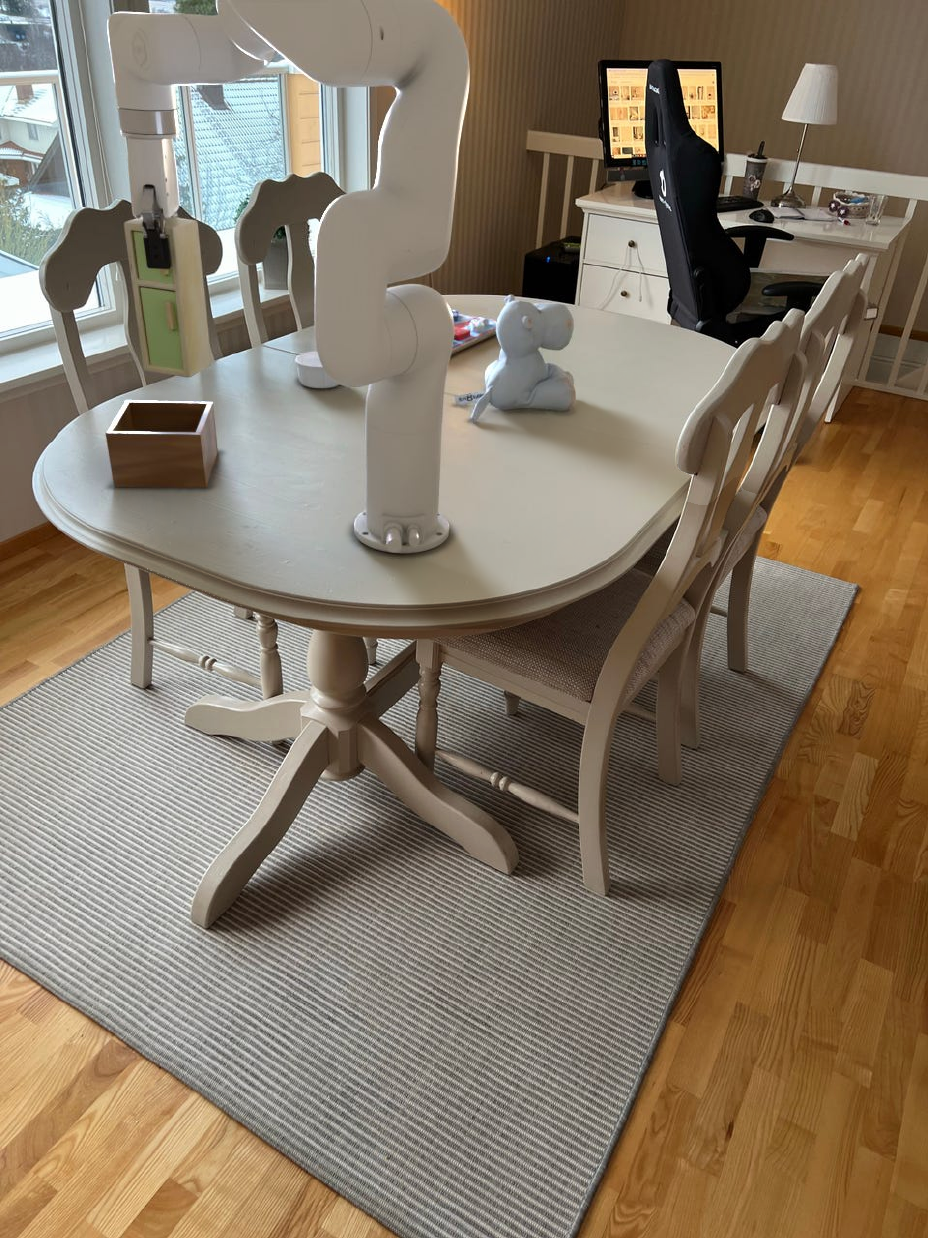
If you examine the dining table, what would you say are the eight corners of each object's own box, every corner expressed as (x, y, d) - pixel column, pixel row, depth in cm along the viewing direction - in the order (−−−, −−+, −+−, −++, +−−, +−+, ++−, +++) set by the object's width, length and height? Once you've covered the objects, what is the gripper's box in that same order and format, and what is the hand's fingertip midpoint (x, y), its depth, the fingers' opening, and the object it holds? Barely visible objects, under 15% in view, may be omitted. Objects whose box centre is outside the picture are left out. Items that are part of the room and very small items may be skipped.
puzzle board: (419, 310, 215) (420, 298, 213) (507, 330, 205) (508, 318, 204) (338, 341, 192) (338, 328, 191) (432, 364, 183) (433, 351, 181)
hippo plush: (593, 413, 165) (607, 307, 155) (471, 423, 158) (477, 312, 148) (552, 379, 179) (563, 280, 169) (438, 386, 173) (442, 283, 163)
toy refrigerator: (138, 372, 140) (119, 221, 128) (165, 358, 146) (149, 213, 134) (186, 380, 138) (172, 228, 127) (211, 366, 144) (199, 220, 132)
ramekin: (291, 388, 168) (290, 364, 166) (301, 372, 175) (300, 349, 173) (340, 391, 168) (340, 367, 165) (348, 375, 175) (348, 352, 173)
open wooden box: (206, 488, 132) (200, 434, 128) (114, 486, 131) (105, 432, 127) (218, 452, 143) (213, 401, 139) (132, 450, 142) (125, 399, 137)
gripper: (133, 115, 131) (149, 245, 140) (105, 129, 116) (125, 274, 126) (188, 118, 131) (201, 247, 141) (167, 132, 117) (182, 276, 126)
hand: (165, 259), depth 133 cm, fingers closed on toy refrigerator, 8 cm apart
